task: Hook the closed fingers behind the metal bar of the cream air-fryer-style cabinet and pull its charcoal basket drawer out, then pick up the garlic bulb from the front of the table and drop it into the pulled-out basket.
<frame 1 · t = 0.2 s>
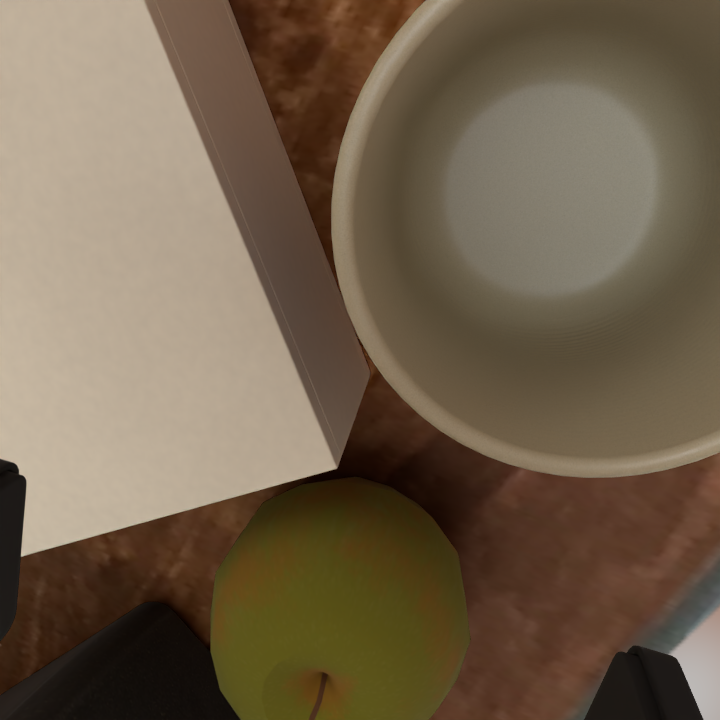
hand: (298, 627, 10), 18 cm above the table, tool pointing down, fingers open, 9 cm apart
planter: (544, 190, 25), on the table
cabinet: (163, 247, 28), on the table
apple: (358, 533, 31), on the table
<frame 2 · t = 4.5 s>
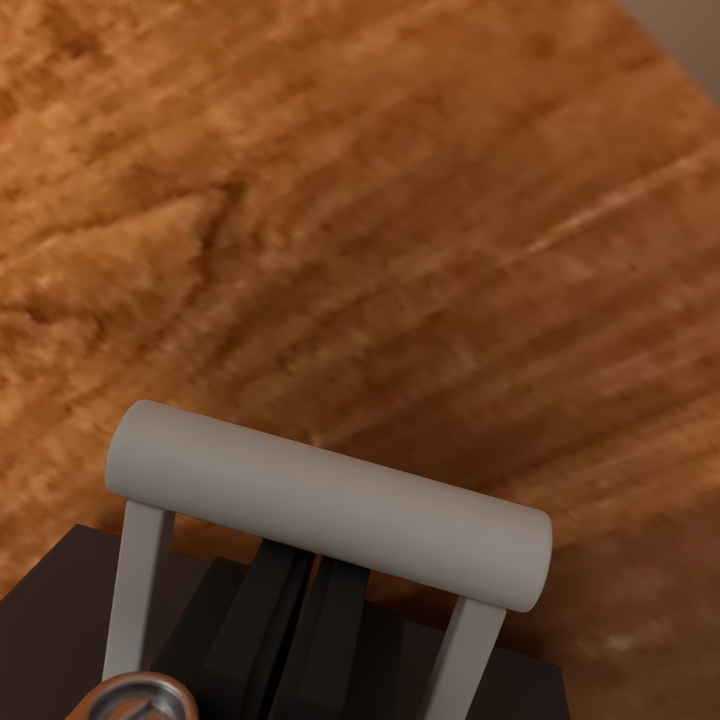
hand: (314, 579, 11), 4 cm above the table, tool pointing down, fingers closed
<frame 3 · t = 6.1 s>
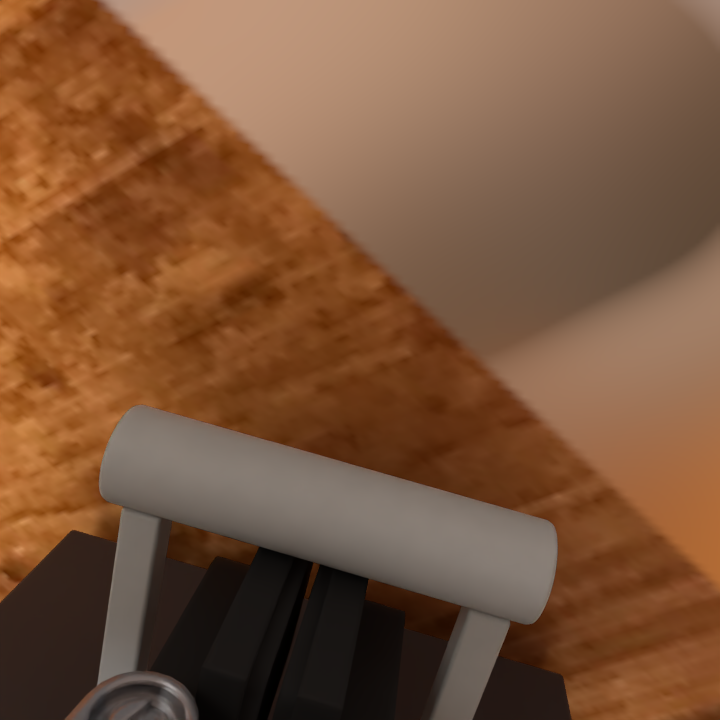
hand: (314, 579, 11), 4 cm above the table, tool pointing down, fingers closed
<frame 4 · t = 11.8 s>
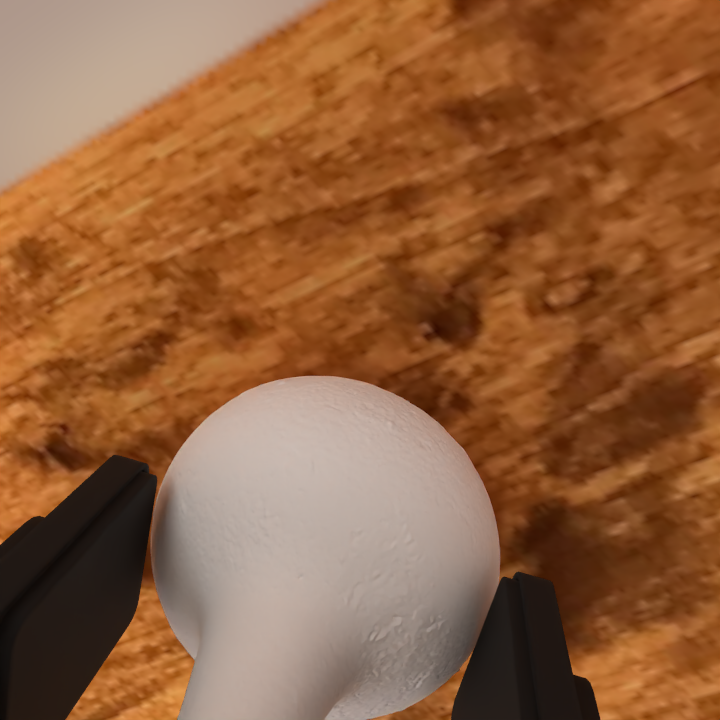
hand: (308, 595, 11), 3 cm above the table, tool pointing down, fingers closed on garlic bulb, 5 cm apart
garlic bulb: (340, 495, 14), on the table, touching gripper
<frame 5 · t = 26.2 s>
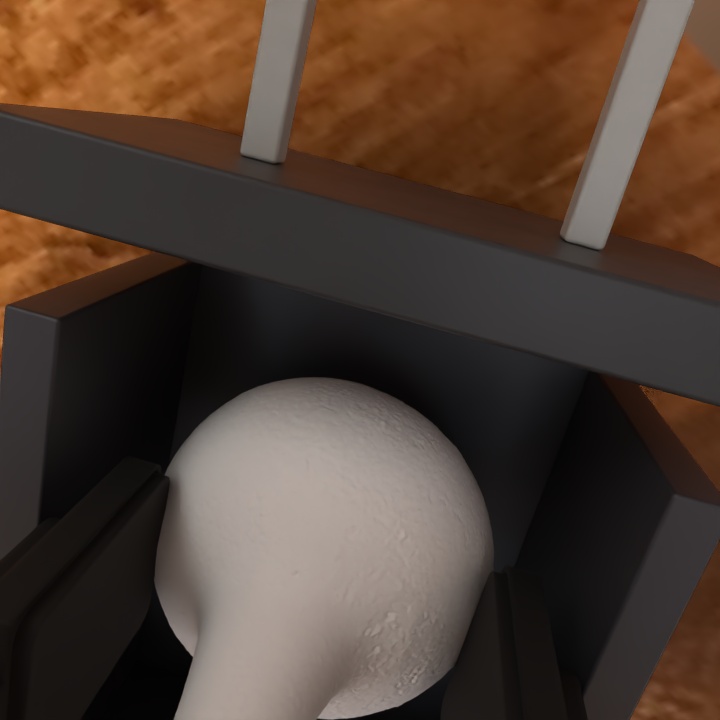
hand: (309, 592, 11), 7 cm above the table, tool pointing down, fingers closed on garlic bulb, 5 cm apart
garlic bulb: (337, 496, 14), point 3 cm above the table, touching gripper
drawer: (358, 432, 12), point 4 cm above the table, slide at 10.6 cm, touching gripper
when the fingers open (8 cm above the table, at t = 28.2 s): garlic bulb drops 3 cm, resting on drawer.
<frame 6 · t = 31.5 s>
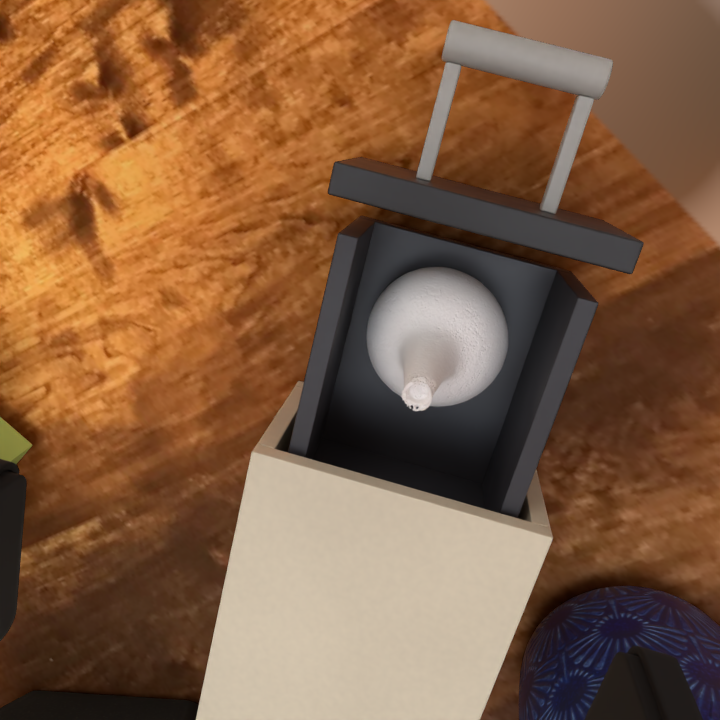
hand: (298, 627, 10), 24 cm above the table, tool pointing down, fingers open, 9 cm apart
planter: (618, 650, 38), on the table
garlic bulb: (437, 327, 32), point 2 cm above the table, touching drawer
cabinet: (377, 535, 38), on the table
drawer: (453, 296, 29), point 4 cm above the table, slide at 10.6 cm, touching garlic bulb
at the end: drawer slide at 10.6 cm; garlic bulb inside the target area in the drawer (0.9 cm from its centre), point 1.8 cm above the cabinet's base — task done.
